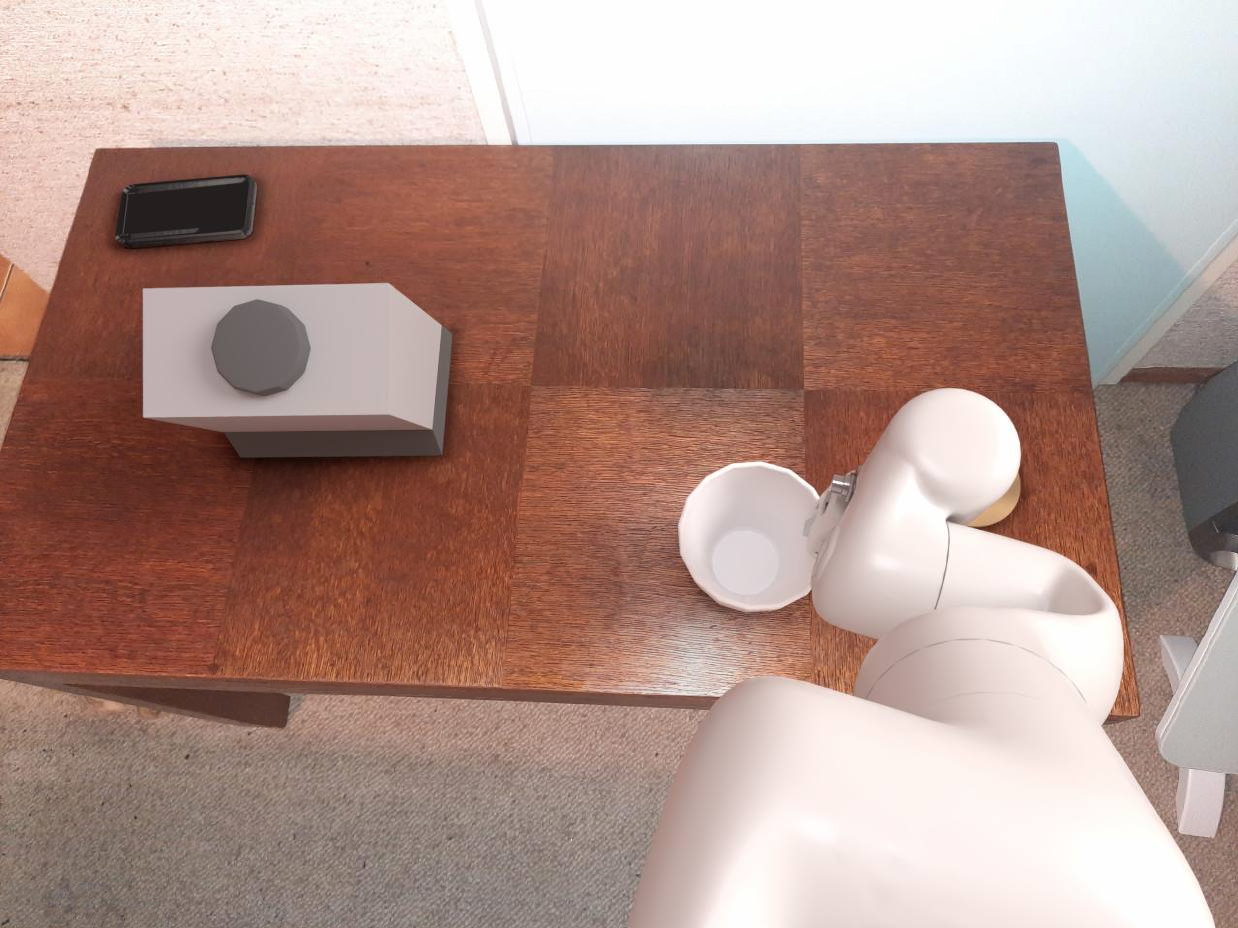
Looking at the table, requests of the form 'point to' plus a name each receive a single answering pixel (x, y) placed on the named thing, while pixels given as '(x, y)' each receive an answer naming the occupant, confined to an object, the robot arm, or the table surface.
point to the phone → (186, 211)
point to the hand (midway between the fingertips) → (853, 560)
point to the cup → (749, 536)
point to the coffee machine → (298, 368)
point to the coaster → (999, 507)
